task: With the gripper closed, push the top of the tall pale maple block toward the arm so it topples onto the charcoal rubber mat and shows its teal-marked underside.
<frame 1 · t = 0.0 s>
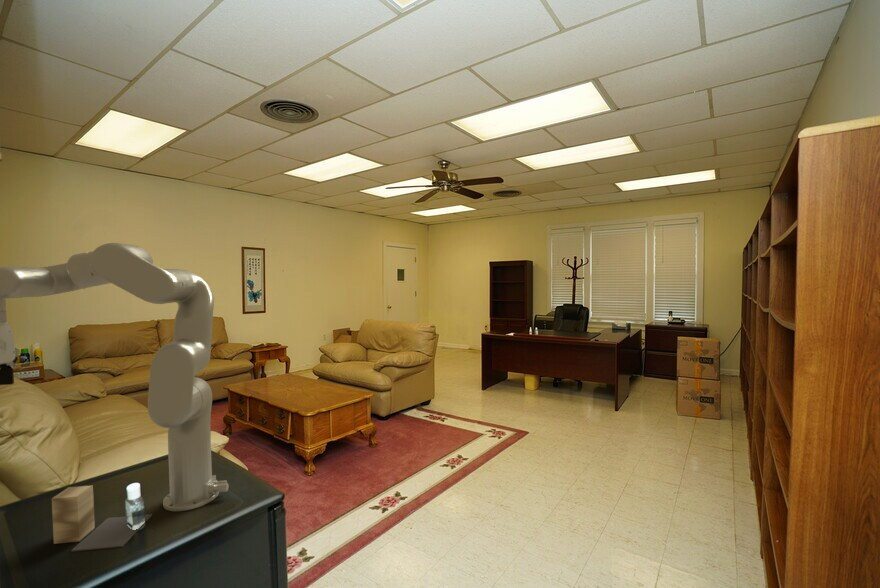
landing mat: (114, 532, 95), on the table
maple block: (74, 536, 93), on the table
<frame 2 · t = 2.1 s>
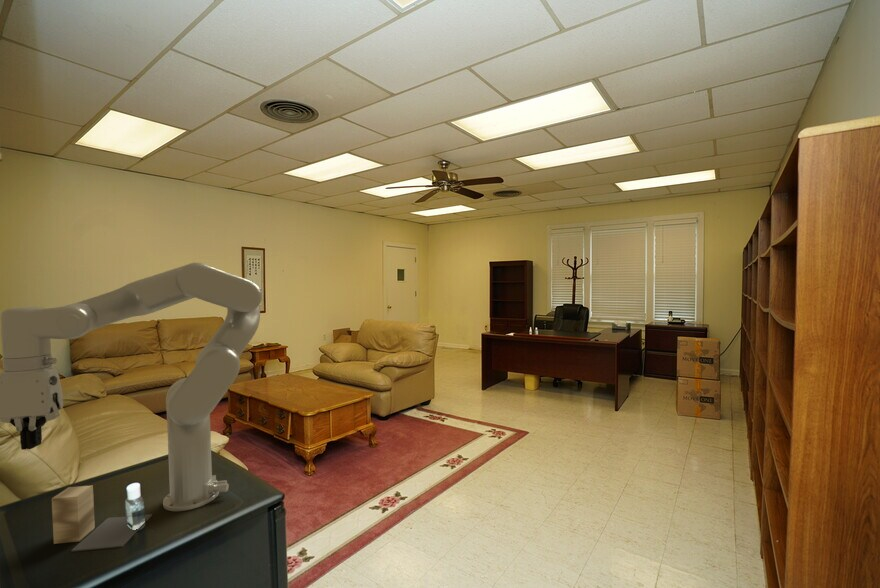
hand: (31, 446, 91), 21 cm above the table, tool pointing down, fingers closed
nothing on the table moved.
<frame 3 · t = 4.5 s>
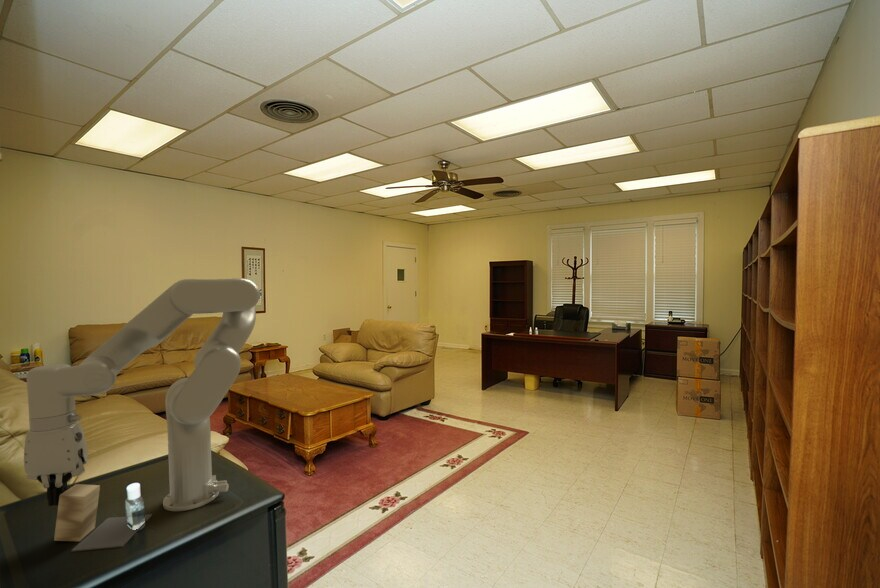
hand: (58, 502, 93), 8 cm above the table, tool pointing down, fingers closed
maple block: (75, 534, 93), on the table, tilted 9°
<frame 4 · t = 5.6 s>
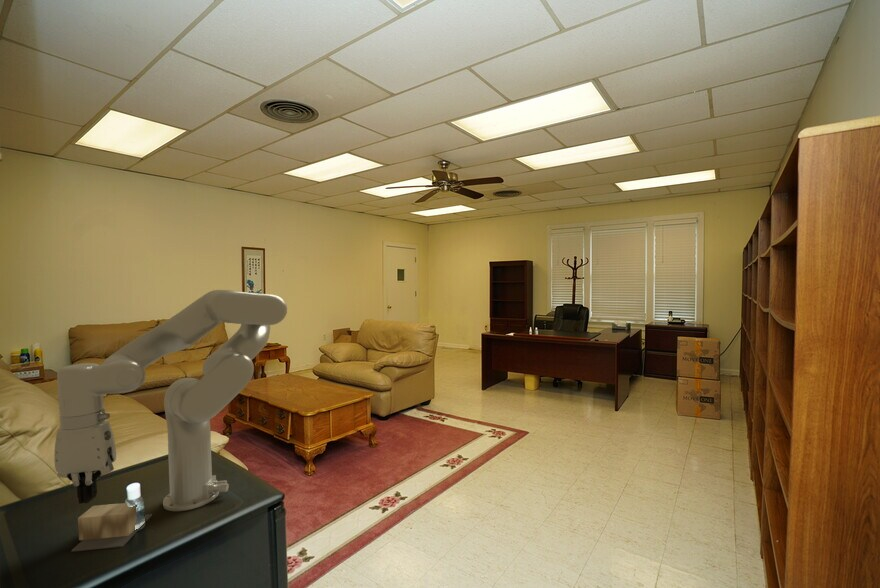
hand: (87, 500, 94), 8 cm above the table, tool pointing down, fingers closed
maple block: (85, 522, 94), point 3 cm above the table, tilted 90°, touching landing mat
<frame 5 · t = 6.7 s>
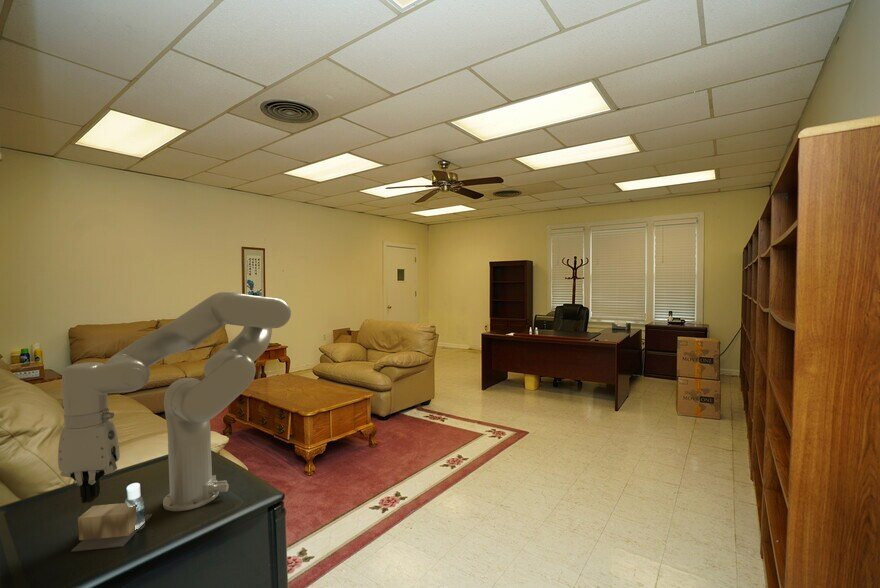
hand: (90, 499, 94), 8 cm above the table, tool pointing down, fingers closed
nothing on the table moved.
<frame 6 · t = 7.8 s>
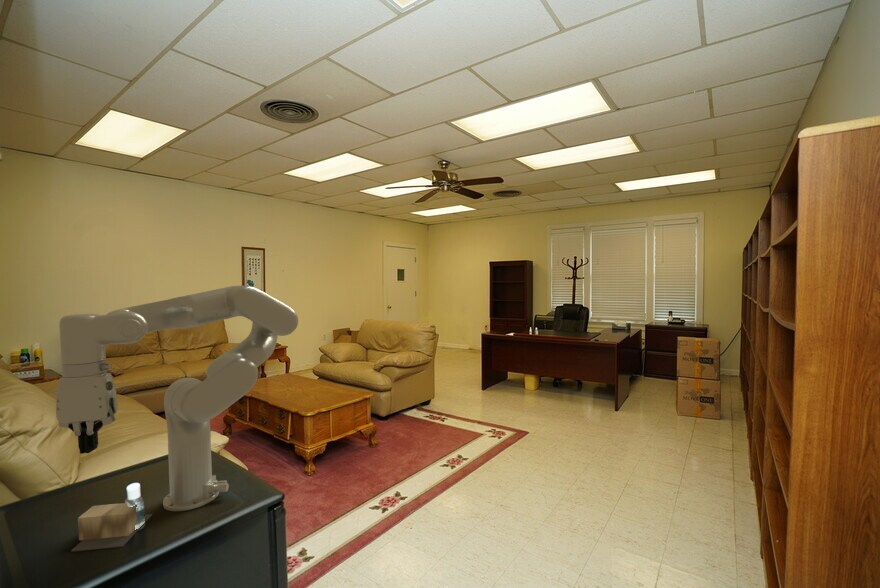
hand: (88, 450, 93), 19 cm above the table, tool pointing down, fingers closed
nothing on the table moved.
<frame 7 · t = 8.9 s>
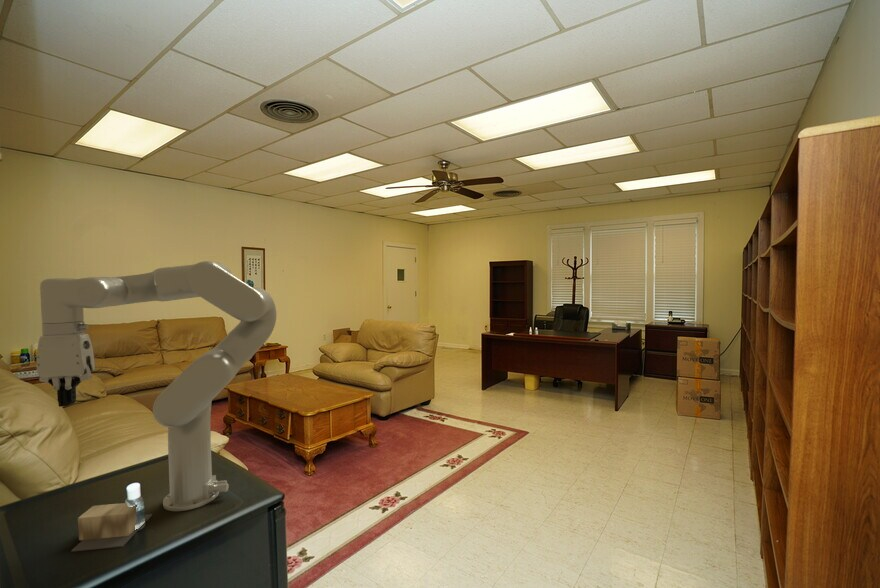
hand: (67, 404, 101), 27 cm above the table, tool pointing down, fingers closed
nothing on the table moved.
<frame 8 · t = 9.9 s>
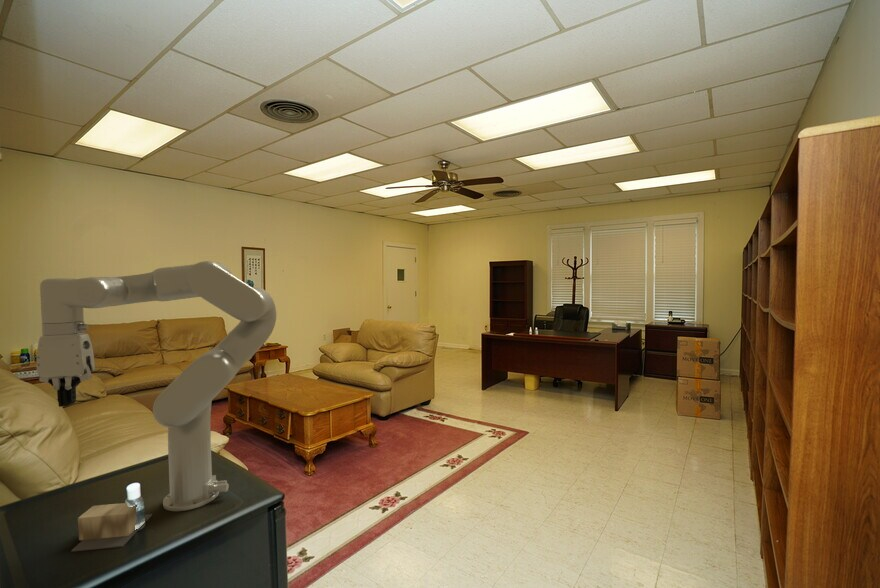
hand: (67, 404, 101), 27 cm above the table, tool pointing down, fingers closed
nothing on the table moved.
at the end: maple block tilted 90°; maple block touching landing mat; maple block moved 3.6 cm from its start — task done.
